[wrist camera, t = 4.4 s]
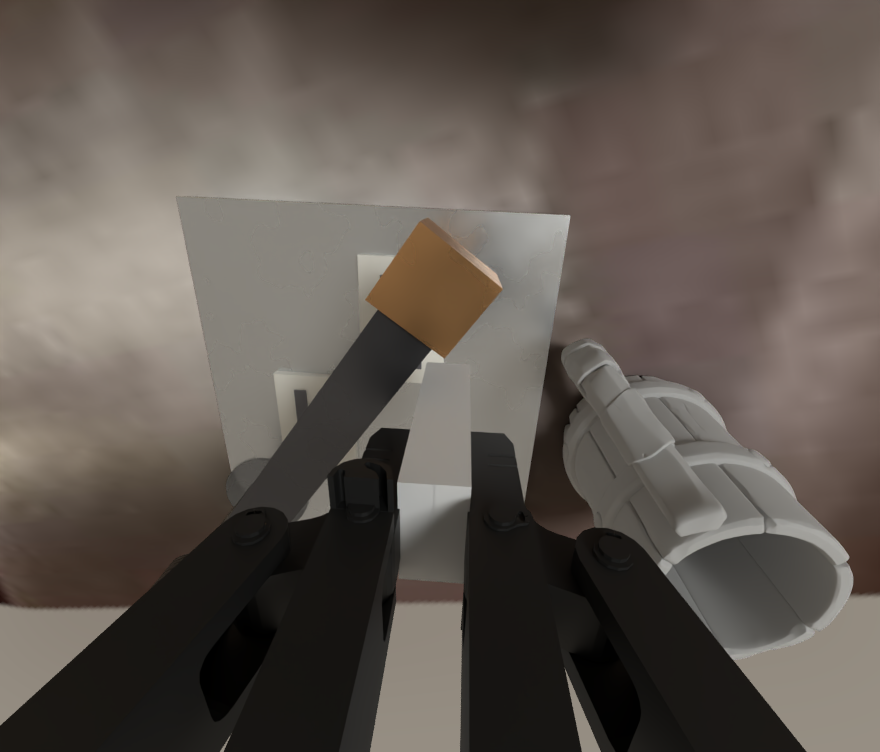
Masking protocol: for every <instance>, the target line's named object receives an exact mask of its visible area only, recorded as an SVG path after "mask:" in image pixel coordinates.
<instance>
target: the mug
mask: <svg viewBox="0 0 880 752" xmlns="http://www.w3.org/2000/svg"><path fill="white" fill-rule="evenodd" d="M561 361H562V364H563V365H564V367H565V370H566V372H567V374H568V376H569V378H570V379H571V380H572V381H573V382H574V383H575V385H576V387H577V388H578V390H579V391H580V393H581V394H582V395H583V397H584V398H583V399H582V400H581V401H580V402H579V403H578V404H577V409H576V408H575V409H574V410H573V411H572V413H571V414H570V416H569V419H570V424H568V425H566V426H565V430H564V444H563V461H564V466H565V470H566V473H567V475H568V477H569V480H570V482H571V484H572V485H573V487H574V489H575V490H576V491H577V493H578V494H579V495H580V496H581V497H582V498H583V499H584V500H586V501H587V502H588V504H589V506H590V508H591V509H592V512H593V515H594V525H595V527H596V528H609V529H612V530H616V531H619V532H622V533H623V534H625V535H627V536H629V537H630V538H632V539H634V540H635V541H636V542H637V543H638V544H639V545H640V546H641V547H643V548H644V549H645V550H646V552H647V553H648V554H649V555H650V557H651V558H652V559H653V560H654V562H655V563H656V564H657V565H658V567H659V568H660V569H661V570H662V572H663V573H664V574H665V576H666V577H667V578H668V579H669V581H670V582H671V583H672V584H673V586H674V587H675V588H676V589H677V591H678V592H679V593H680V594H681V596H682V597H683V598H684V599H685V601H686V602H687V603H688V604H689V606H690V607H691V608H692V609H693V611H694V612H695V613H696V614H697V616H698V617H699V618H700V619H701V621H702V622H703V623H704V624H705V626H706V627H707V628H708V629H709V631H710V632H711V633H712V634H713V636H714V637H715V638H716V639H717V641H718V642H719V643H720V644H721V646H722V647H723V648H724V649H725V651H726V652H727V653H728V654H729V656H730V657H731V658H732V659H733V660H736V659H743V658H748V657H751V656H752V655H755V654H758V653H762V652H765V651H767V650H770V649H772V650H776V649H779V648H783V647H789V646H792V645H794V644H797V643H800V642H803V641H805V640H807V639H809V638H811V637H812V636H813V635H814V633H815V631H814V630H817V631H821V630H822V629H824V628H825V627H826V626H828V625H829V623H831V621H832V620H833V619H834V618H835V617H836V616H837V615H838V613H839V612H840V611H841V609H842V608H843V607H844V605H845V603H846V602H847V600H848V598H849V596H850V593H851V590H852V586H853V574H852V571H851V569H850V566H849V565H848V564H847V563H846V561H847V560H848V559H849V556H848V554H847V552H846V551H845V549H844V548H843V547H842V546H841V544H840V543H839V542H838V541H837V540H836V539H835V538H834V537H833V536H832V535H831V534H830V533H829V532H828V531H827V530H826V529H825V528H824V527H823V526H822V525H821V524H820V523H819V522H818V521H817V520H816V519H815V518H814V517H813V516H812V515H811V514H810V513H809V512H808V511H807V510H806V509H805V508H804V507H803V506H802V505H801V504H800V503H799V502H798V501H797V499H796V496H795V494H794V491H793V489H792V487H791V486H790V484H789V483H788V481H787V480H786V479H785V478H784V477H783V475H782V474H781V473H780V472H779V471H778V470H777V469H776V468H775V467H773V466H772V465H771V463H770V461H769V460H767V459H766V458H765V457H764V456H762V455H761V454H760V453H759V452H757V451H756V450H753V449H748V448H745V447H742V446H741V445H740V444H739V443H738V442H737V441H736V440H735V439H734V438H733V437H732V436H731V435H730V434H729V433H728V432H727V430H726V427H725V424H724V422H723V419H722V418H721V416H720V414H719V413H718V412H717V410H716V409H715V408H714V407H713V406H712V405H711V404H710V403H709V402H708V401H707V400H706V399H705V398H704V397H703V396H702V394H700V393H699V392H698V391H696V390H693V389H690V388H688V387H686V386H684V385H681V384H678V383H674V382H669V381H665V380H662V379H659V378H657V377H653V376H642V378H640V377H639V376H638V375H635V376H627V377H624V375H623V374H622V372H621V369H620V367H619V366H618V364H617V363H616V361H615V360H614V359H613V358H612V357H611V355H609V354H608V353H607V351H606V350H605V348H604V347H603V346H602V345H600V344H598V343H596V342H594V341H593V340H592V339H589V338H586V339H582V340H579V341H576V342H573V343H572V344H570V345H568V346H567V347H566V348H564V349H563V351H562V356H561Z"/></svg>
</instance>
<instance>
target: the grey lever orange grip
mask: <svg viewBox="0 0 880 752" xmlns="http://www.w3.org/2000/svg"><path fill="white" fill-rule="evenodd" d="M502 290H503V288H502V285H501V283H500V280H499V278H498V275H497V274H496V273H495V272H494V271H493V270H491V269H490V268H489V267H488V266H486V265H485V264H484V263H483V262H482V261H480V260H479V259H478V258H477V257H475V256H474V255H473V254H472V253H471V252H469V251H468V250H467V249H466V248H465V247H463V246H462V245H461V244H460V243H458V242H457V241H456V240H455V239H454V238H452V237H451V236H450V235H449V234H447V233H446V232H445V231H444V230H443V229H441V228H440V227H439V226H438V225H436V224H435V223H434V222H433V221H432V220H430V219H429V218H426V219H423V220H421V221H419V223H418V224H417V226H416V227H415V229H414V230H413V231H412V233H411V234H410V236H409V237H408V239H407V240H406V242H405V243H404V244H403V246H402V247H401V249H400V250H399V252H398V253H397V254H396V256H395V257H394V259H393V260H392V262H391V263H390V265H389V266H388V267H387V269H386V270H385V272H384V273H383V275H382V276H381V277H380V279H379V280H378V282H377V283H376V285H375V286H374V288H373V289H372V290H371V292H370V293H369V295H368V296H367V298H366V299H365V300H366V301H367V302H368V303H370V304H371V305H372V306H374V307H375V308H377V309H378V310H377V311H376V313H375V314H374V315H373V317H372V318H371V320H370V321H369V322H368V324H367V325H366V327H365V328H364V329H363V331H362V332H361V333H360V335H359V336H358V338H357V339H356V340H355V342H354V343H353V345H352V346H351V347H350V349H349V350H348V352H347V353H346V354H345V356H344V357H343V359H342V360H341V361H340V363H339V364H338V366H337V367H336V368H335V370H334V371H333V372H332V374H331V375H330V377H329V378H328V379H327V381H326V382H325V384H324V385H323V386H322V388H321V389H320V391H319V392H318V393H317V395H316V396H315V398H314V399H313V400H312V402H311V403H310V405H309V406H308V407H307V409H306V410H305V411H304V413H303V414H302V416H301V417H300V418H299V420H298V421H297V423H296V424H295V425H294V427H293V428H292V430H291V431H290V432H289V434H288V435H287V437H286V438H285V439H284V441H283V442H282V444H281V445H280V446H279V448H278V449H277V450H276V452H275V453H274V455H273V456H272V457H271V459H270V460H269V462H268V463H267V464H266V466H265V467H264V469H263V470H262V471H261V473H260V474H259V476H258V477H257V478H256V480H255V481H254V483H253V484H252V485H251V487H250V488H249V490H248V491H247V492H246V494H245V495H244V496H243V498H242V499H241V501H240V502H239V503H238V505H237V506H236V508H235V509H234V510H233V512H232V513H231V515H230V516H229V517H228V519H229V518H231V517H232V516H233V515H235V514H237V513H240V512H242V511H244V510H247V509H251V508H257V507H271V508H276V509H278V510H280V511H282V512H283V513H284V515H285V516H286V518H287V519H288V523H289V522H292V520H293V519H294V518H295V517H296V515H297V514H298V513H299V512H300V511H301V509H302V508H303V507H304V506H305V504H306V503H307V502H308V501H309V499H310V498H311V497H312V496H313V495H314V493H315V492H316V491H317V490H318V488H319V487H320V486H321V485H322V484H323V482H324V481H325V480H326V479H327V475H328V474H329V473H330V471H331V470H332V469H333V468H334V467H336V466H337V465H338V464H339V463H340V461H341V460H342V459H343V458H344V457H345V455H346V454H347V453H348V452H349V450H350V449H351V448H352V447H353V446H354V444H355V443H356V442H357V441H358V439H359V438H360V437H361V436H362V434H363V433H364V432H365V431H366V430H367V428H368V427H369V426H370V425H371V423H372V422H373V421H374V420H375V419H376V417H377V416H378V415H379V414H380V412H381V411H382V410H383V409H384V407H385V406H386V405H387V404H388V403H389V401H390V400H391V399H392V398H393V396H394V395H395V394H396V393H397V392H398V390H399V389H400V388H401V387H402V385H403V384H404V383H405V382H406V380H407V379H408V378H409V377H410V376H411V374H412V373H413V372H414V371H415V369H416V368H417V367H418V366H419V365H420V363H421V362H422V361H423V360H424V358H425V357H426V356H427V355H428V354H429V352H430V351H431V350H433V351H435V352H436V353H437V354H439V355H440V356H441V357H443V358H444V359H445V358H446V356H447V355H448V354H449V353H450V352H451V350H452V349H453V348H454V347H455V346H456V344H457V343H458V342H459V341H460V340H461V339H462V337H463V336H464V335H465V334H466V333H467V331H468V330H469V329H470V328H471V327H472V325H473V324H474V323H475V322H476V321H477V319H478V318H479V317H480V316H481V315H482V314H483V312H484V311H485V310H486V309H487V308H488V306H489V305H490V304H491V303H492V302H493V300H494V299H495V298H496V297H497V296H498V294H499V293H500V292H501V291H502ZM228 519H227V520H228ZM187 555H188V554H186V555H182V556H180V557H178V558H176V559H175V560H174V561H173V562H172V563H171V564H170V565H169V567H168V568H167V569H166V570H165V571H164V573H163V574H162V575H161V576H160V578H159V579H158V580H157V581H156V583H157V582H159V581H160V580H161V579H162V578H163V577H164V576H165V575H166V574H167V573H168V572H170V571H171V570H172V569H173V568H174V567H175V566H176V565H177V564H178V563H179V562H181V561H182V560H183V559H184V558H185V557H186V556H187ZM156 583H155V584H156ZM155 584H154V585H155ZM154 585H153V586H154ZM153 586H152V587H153ZM152 587H151V588H152Z"/></svg>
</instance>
